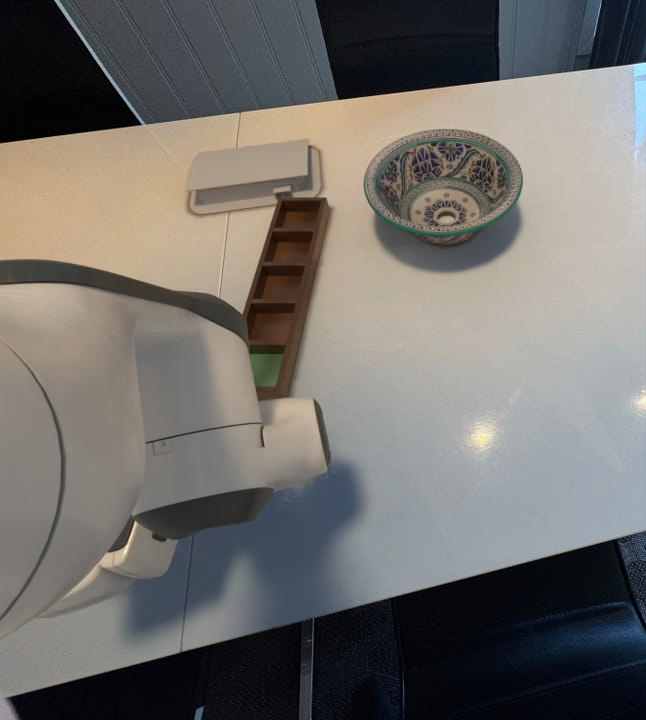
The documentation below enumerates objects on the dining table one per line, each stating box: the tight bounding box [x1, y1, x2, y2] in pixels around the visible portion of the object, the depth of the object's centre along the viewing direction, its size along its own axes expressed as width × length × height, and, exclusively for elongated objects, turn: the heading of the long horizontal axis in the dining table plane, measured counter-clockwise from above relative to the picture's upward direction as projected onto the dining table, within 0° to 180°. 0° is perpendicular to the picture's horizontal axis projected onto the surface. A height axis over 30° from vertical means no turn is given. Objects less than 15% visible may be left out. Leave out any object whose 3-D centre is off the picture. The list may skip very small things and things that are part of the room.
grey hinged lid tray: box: [184, 138, 322, 215], centre depth 92 cm, size 15×23×4 cm, turn 102°
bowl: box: [363, 128, 524, 246], centre depth 83 cm, size 25×25×10 cm
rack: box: [241, 196, 331, 401], centre depth 78 cm, size 8×38×3 cm, turn 0°
